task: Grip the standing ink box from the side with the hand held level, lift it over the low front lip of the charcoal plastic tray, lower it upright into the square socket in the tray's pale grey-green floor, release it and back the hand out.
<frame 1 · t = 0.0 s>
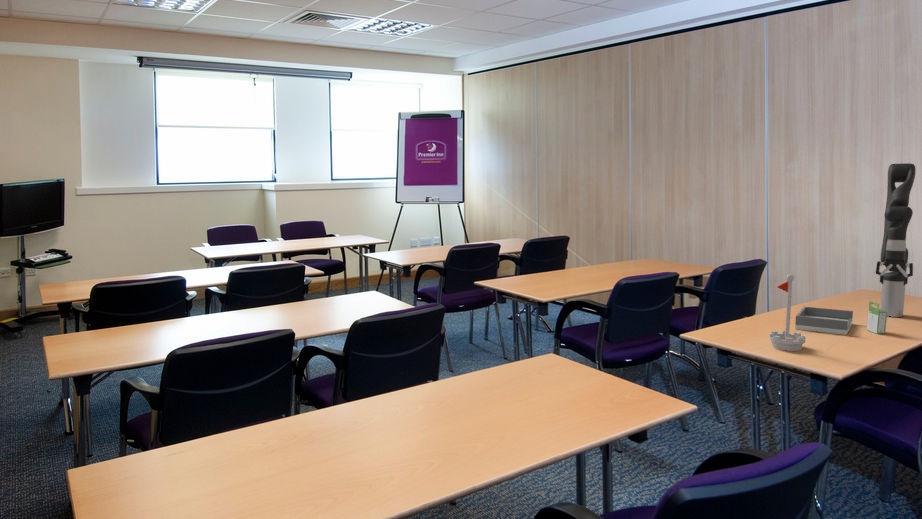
hand: (893, 284, 296), 17 cm above the table, tool pointing down, fingers open, 8 cm apart
ink box: (876, 332, 279), on the table
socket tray: (824, 326, 290), on the table
flag stand: (786, 347, 258), on the table
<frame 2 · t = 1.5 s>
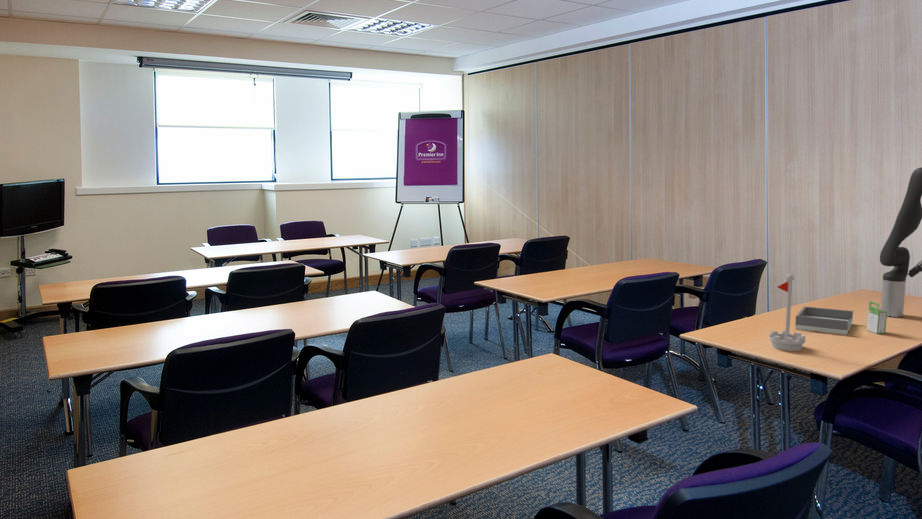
hand: (909, 274, 276), 25 cm above the table, tool tilted 45°, fingers open, 8 cm apart
nothing on the table moved.
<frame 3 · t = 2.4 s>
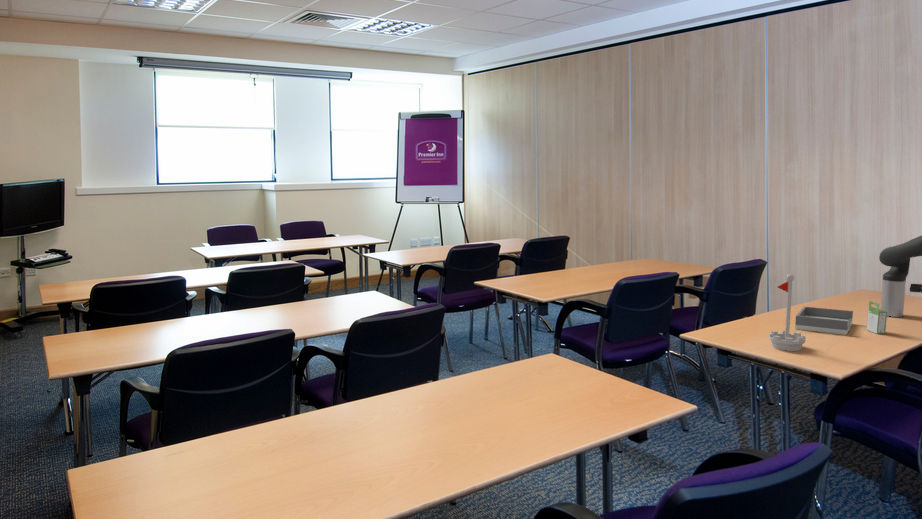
hand: (910, 287, 269), 21 cm above the table, tool horizontal, fingers open, 8 cm apart
nothing on the table moved.
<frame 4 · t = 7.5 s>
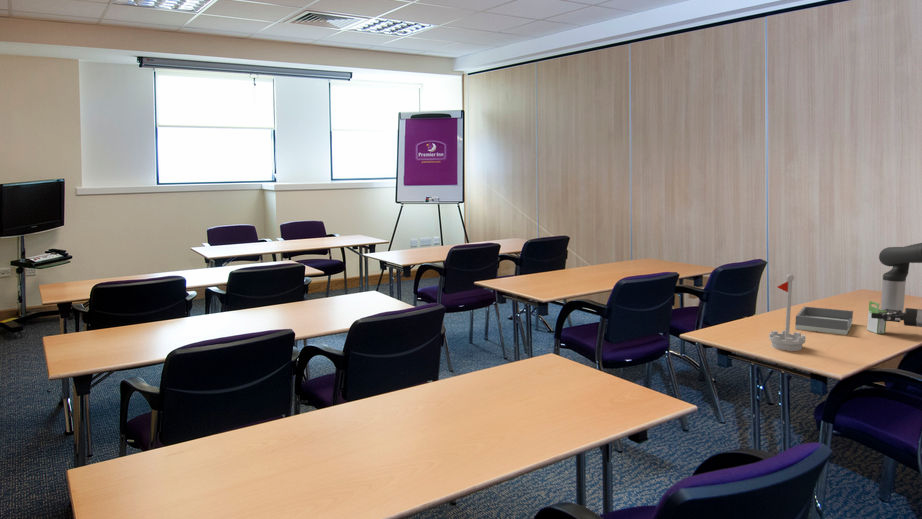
hand: (872, 313, 279), 8 cm above the table, tool horizontal, fingers closed on ink box, 8 cm apart
ink box: (876, 332, 279), on the table, touching gripper
everything else where it was.
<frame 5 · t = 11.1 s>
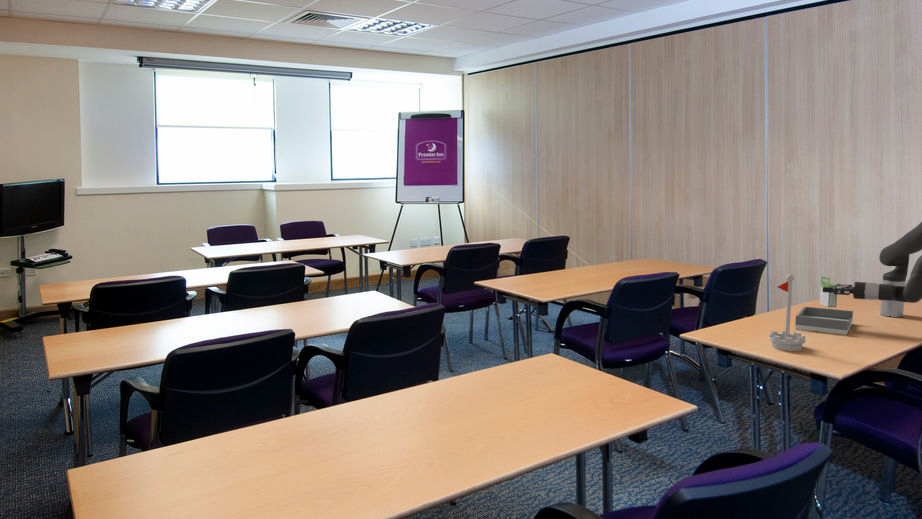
hand: (823, 288, 288), 18 cm above the table, tool horizontal, fingers closed on ink box, 8 cm apart
ink box: (828, 306, 288), point 9 cm above the table, touching gripper
everything else where it was.
when the fingers open (9 cm above the table, at t = 15.0 s): ink box stays where it is, resting in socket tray.
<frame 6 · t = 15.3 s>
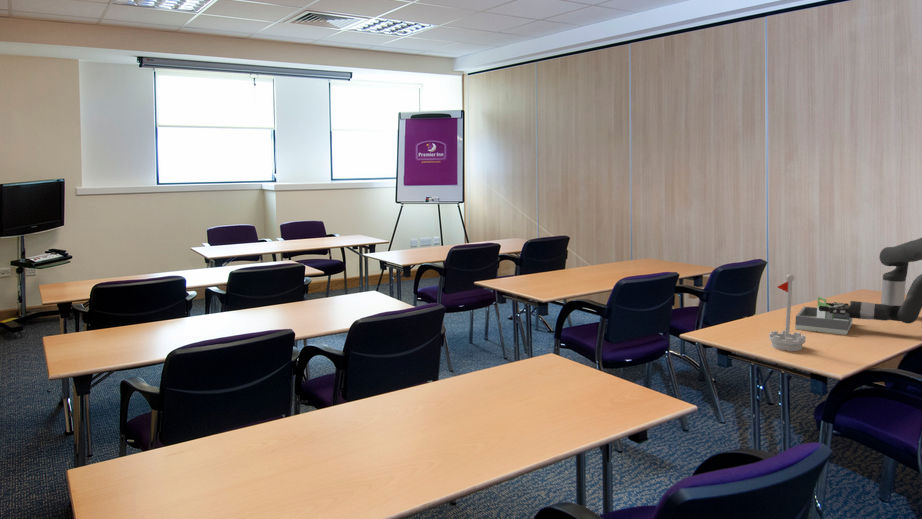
hand: (820, 306, 290), 9 cm above the table, tool horizontal, fingers open, 8 cm apart
ink box: (824, 327, 290), resting in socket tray
everything else where it was.
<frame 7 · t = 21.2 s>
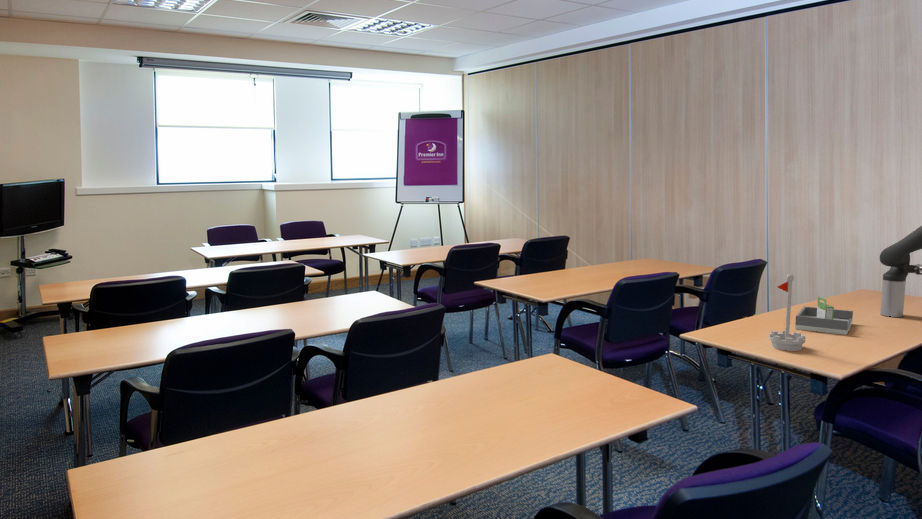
hand: (903, 268, 274), 28 cm above the table, tool horizontal, fingers open, 8 cm apart
nothing on the table moved.
at the end: ink box 0.1 cm off-centre on the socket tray, point 0.0 cm above the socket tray's base; ink box tilted 0°; the gripper is holding nothing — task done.
